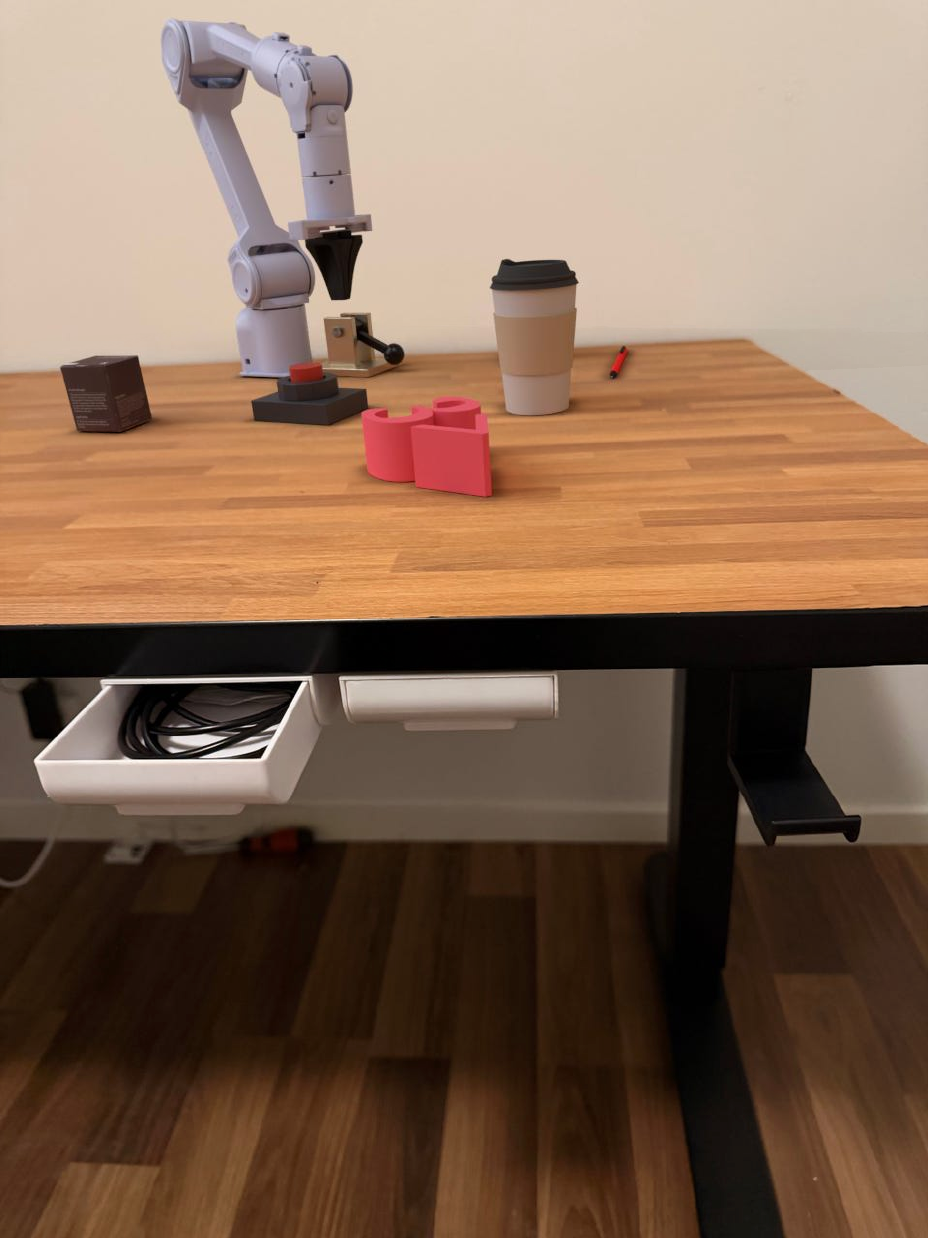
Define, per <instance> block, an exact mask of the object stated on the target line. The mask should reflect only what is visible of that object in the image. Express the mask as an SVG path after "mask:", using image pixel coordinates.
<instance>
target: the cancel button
mask: <svg viewBox="0 0 928 1238" xmlns="http://www.w3.org/2000/svg"><path fill="white" fill-rule="evenodd" d="M321 363H322V362H312V363H300V364H295V365H291V366H289V372H290V379H291V382H310V381H316V380H321V379H324V377H323V369H322V364H321Z"/></svg>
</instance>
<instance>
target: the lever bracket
mask: <svg viewBox="0 0 928 1238" xmlns="http://www.w3.org/2000/svg"><path fill="white" fill-rule="evenodd" d="M346 315H348V316H349V317H342V316H346ZM355 320H357V321H358V322H360V323H362V324H363V328H362V331H363V332H365V333H367V334H369V335H371V336H372V337H374V333H373V332H374V331H373V323H372V313H371V312H342V313H340V314H339V316H326V317H323V326H324V334H325V341H326V350H327V359H328V360H326V361H323V362H320V363H321V364H322V369H323V373H332V374H336V375H337V377H350V378H351V377H355V378H370V377H373V376H376V375H378V374H381V373H384V372H386V371H389V370H391V369H394V368H397V367H399V366H400V364H398V365H391V364H389V363H387V362H386V360H385V358H383V357H376V353H375V352H376V350H375V349H374V348H372V347H370V346H368V345H366V344H365V343H363V342H361V341H357V334H356V325H355Z"/></svg>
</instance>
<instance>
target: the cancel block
mask: <svg viewBox="0 0 928 1238" xmlns="http://www.w3.org/2000/svg"><path fill="white" fill-rule="evenodd" d="M323 377H324V379H321V380H316V381H310V382H291V379H290V376H286V377H283V378H282V377H279V378H278V379H277V381H276V387H277V391H275V392H272V393H269V394H266V395H264V396H261V397H258V398H255V399H252V400H251V401H250V403H251V408H252V409H251V410H252V415H253V421H255V422H256V421H257V422H270V423H271V422H273V423H274V422H275V423H288V424H302V425H303V424H304V425H317V426H319V425H320V426H330V425H332V424H334V423H337V422H339V421H342V420H343V419H346V418H349V417H352V416H353V415H356V414H358V413H361V412H363V411H366V410H369V402H368V391H367V388H356V387H339V380H338V376H337V375H336V374H332V373H323Z"/></svg>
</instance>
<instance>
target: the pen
mask: <svg viewBox="0 0 928 1238" xmlns="http://www.w3.org/2000/svg"><path fill="white" fill-rule="evenodd" d="M627 354H628V348H627V347H626V346H625V345H622V346H621V348H620V351H619V352H618V354H617V357H616V359H615V361H614V363H613V365H612V368H611V370H610V372H609V376H610V378H612V379H614V378H617V376H618V374H619V372H620V370H621V366H622V364H623V362H624V360H625V357H626V355H627Z"/></svg>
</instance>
